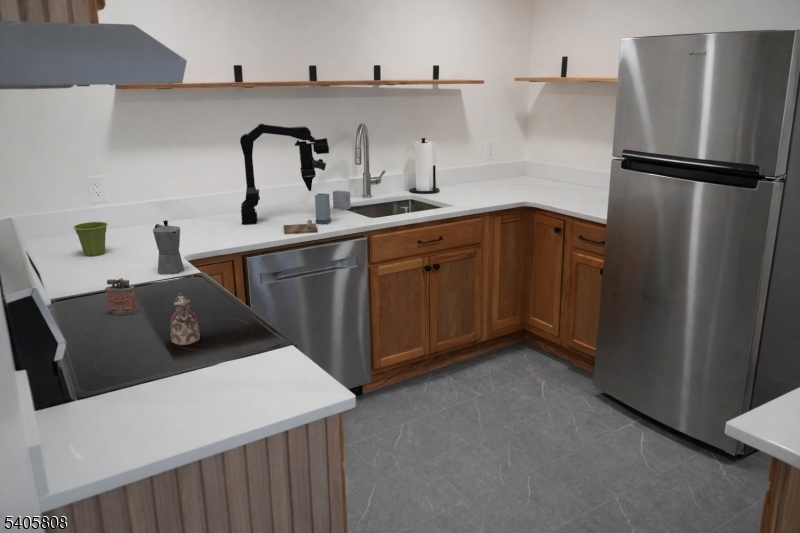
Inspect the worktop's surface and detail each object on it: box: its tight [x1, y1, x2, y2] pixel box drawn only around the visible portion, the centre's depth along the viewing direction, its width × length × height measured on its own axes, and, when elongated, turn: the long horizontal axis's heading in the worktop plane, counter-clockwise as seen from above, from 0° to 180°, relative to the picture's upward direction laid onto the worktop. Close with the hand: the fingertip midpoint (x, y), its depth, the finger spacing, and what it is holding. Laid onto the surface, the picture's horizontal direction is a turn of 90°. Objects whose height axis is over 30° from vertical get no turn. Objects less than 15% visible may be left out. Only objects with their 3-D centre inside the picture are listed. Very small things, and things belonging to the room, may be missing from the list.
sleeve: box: [314, 193, 332, 225], centre depth 296 cm, size 5×5×13 cm
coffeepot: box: [152, 219, 185, 275], centre depth 227 cm, size 15×9×18 cm, turn 44°
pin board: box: [282, 219, 319, 235], centre depth 284 cm, size 14×13×5 cm
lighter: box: [104, 277, 138, 315], centre depth 189 cm, size 8×3×10 cm, turn 92°
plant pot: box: [72, 221, 108, 257], centre depth 249 cm, size 12×12×11 cm
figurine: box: [170, 292, 201, 346], centre depth 169 cm, size 7×7×12 cm
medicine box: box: [332, 189, 352, 211], centre depth 327 cm, size 8×4×9 cm, turn 58°
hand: (309, 189), depth 300 cm, fingers open, 9 cm apart
